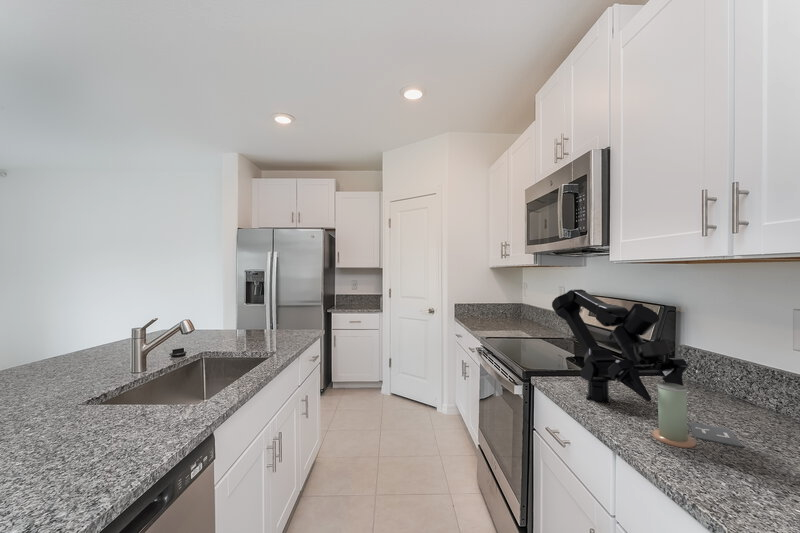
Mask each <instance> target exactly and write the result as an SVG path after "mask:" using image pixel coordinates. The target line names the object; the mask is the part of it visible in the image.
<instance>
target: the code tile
mask: <svg viewBox="0 0 800 533" xmlns="http://www.w3.org/2000/svg"><path fill="white" fill-rule="evenodd" d="M688 425H689V427H690V429H691V431H692V433H693V435H694V438H695V439H697V440H702V441H703V440H704V441H707V442H713V443H717V444H722V445H726V446H727V445H728V446H733V447H737V448H743V445H742V444H741V443H740V441H739V440H738V438H737V437H736V436H735V434H734V433H733V431H732V430H731V429H730V428H726V427H720V426H716V425H715V426H713V425H709V424H703V423H698V422H694V421H693V422H692V421H688Z"/></svg>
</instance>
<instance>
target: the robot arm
mask: <svg viewBox="0 0 800 533" xmlns="http://www.w3.org/2000/svg"><path fill="white" fill-rule="evenodd" d="M551 307H552V309H553V311H554V312H555V313H556V315H557V316H558V317H559V318H561V319H563V320H564V321H565V322H566V323H567V324H568V327H569V328H570V330H571V332H572V335H573V336H574V337H575V339H576V341H577V343H578V344H579V346H580V348H581V350H582V351H583V354H584V359H583V364H584V366H583V367H582V368H581V369H580V370H579V371H580V372H579V373H580V378H581V379H584V380H585V381H587V393H586V397H585V400H587V401H593V402H599V403H603V404H611V399H612V398H611V395H610V391H609V390H610V388H609V387H610V385H609V384H610V383H609V382H618V383H621V384H623V385H624V386H626V387H628V388H629V389H630V390H632V391H633V392H634V393H635V394H637V395H638V396H640V397H641V399H643V400H645V401H646V402H647V403H650V402H651V401H652V397H651V395H650V393H649V391H647V388H646V386H645V385H644V383H643V381H642V380H641V378H640V373H650V372H658V374H659V375H660V376H661V377H662V380H663V382H666V383H674V384H678V385H682V386H684V382H683V374H684V373H685V372H686V371H687V369H688V368H690V365H689V364H688V362H687V361H686V360H685V358H682V357H668V358H666V359H665V360H664V361H662V362H661V363H658V362H659V361H661V360H662V359H663V356H671V355H672V354H673V352H675V350H676V347H675V344H674V343H673V342H672V341H671V339H669V338H663V339H662V340H658V341H650V342H649V341H648V342H645V341H644V340H643V339H642V336H644V335H647V333H649V331H650V330H651V329H653V327H655V325H656V324H657V323H658V322H659V321H660V316H659V315H658V313H657V312H656V311H654V310H653V309H651V308H649V307H647V306H644V304H643V303H634V304H633V305H632V306H631V308H630V309H628V308H626V307H625V306H621V305H619V304H618V305H617V304H612V303H607V302H604V301H603V300H601V299H599V298H598V297H595V296H593V295H592V294H590V293H588V292H587V291H586V290H585V289H581V288H580V289H571V290H568V291H567V292H565V293H563V294H560V295H558V296H556V297H555V298H554V299H553V300H552V301H551ZM581 307H582V308H584V309H586V310H587V311H589V312H591V313H592V314H593V315H594V316H595V319H596V321H597V322H599V324H601V326H603V327H606V328H607V327H615V328H614V329H611V330H610V333H609V335H608V339H609V341H610V340H616V342H617V344H618V346H619V347H620V349H621V351H622V352H621V353H620V355H621V357H622V359H617V358H615V357H614V355H613V353H612V351H611V350H610V349H609V348H602V347H600V346H599V344H598V342H597V341H596V339H595V337H594V336H593V334H592V332H591V331H590V329H589V327H588V326H587V324H586V323H585V321H584V319H583V318H582V316H581V315H580V313H581V312H580V310H581ZM623 358H625V359H623Z"/></svg>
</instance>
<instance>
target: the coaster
mask: <svg viewBox="0 0 800 533" xmlns="http://www.w3.org/2000/svg"><path fill="white" fill-rule="evenodd" d="M652 436H653V438H654V439H656V440H657V441H659V442H661V443H663V444H665V445H668V446H672V447H676V448H682V449H690V448H691V449H692V448H695V447H696V446H697V445H696V444H697V442H696V440H695V439H694V437H691V436H690V435H688V441H687V442H676V441H672V440H668V439H666V438H663V437H662V436H660V435H659V428H657V429H653V431H652Z"/></svg>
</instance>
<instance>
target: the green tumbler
mask: <svg viewBox="0 0 800 533" xmlns="http://www.w3.org/2000/svg"><path fill="white" fill-rule="evenodd" d="M656 384H657V407H658V408H657V413H658V429H659V435H660V436H662V437H663V438H666V439H668V440H672V441H676V442H687V441H688V436H689V435H688V433H689V432H688V431H689V429H688V427H689V426H688V401H687V400H688V395H687V393H688V392H687V391H688V389H687V387H686V386H684V385H683V386H682V385H678V384H674V383H666V382H665V381H663V382H658V383H656Z"/></svg>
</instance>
